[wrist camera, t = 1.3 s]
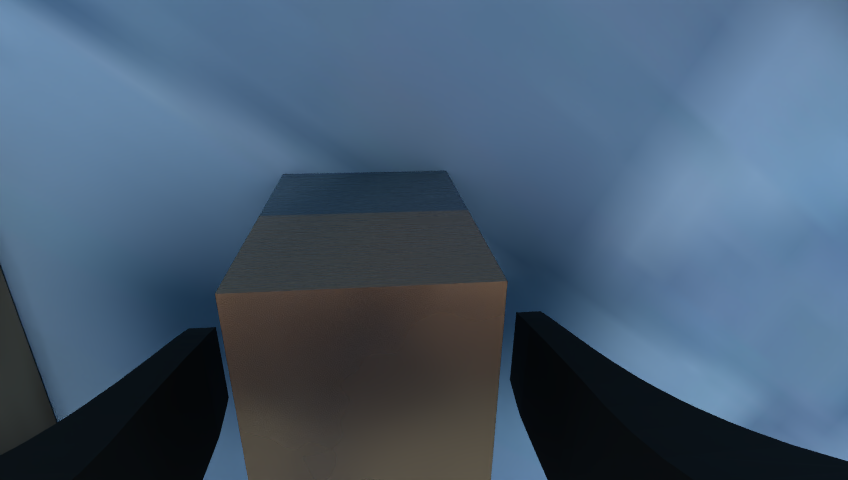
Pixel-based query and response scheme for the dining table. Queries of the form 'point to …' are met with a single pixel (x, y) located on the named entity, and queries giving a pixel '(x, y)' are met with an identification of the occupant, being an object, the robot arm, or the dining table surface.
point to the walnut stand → (18, 381)
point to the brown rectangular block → (365, 331)
